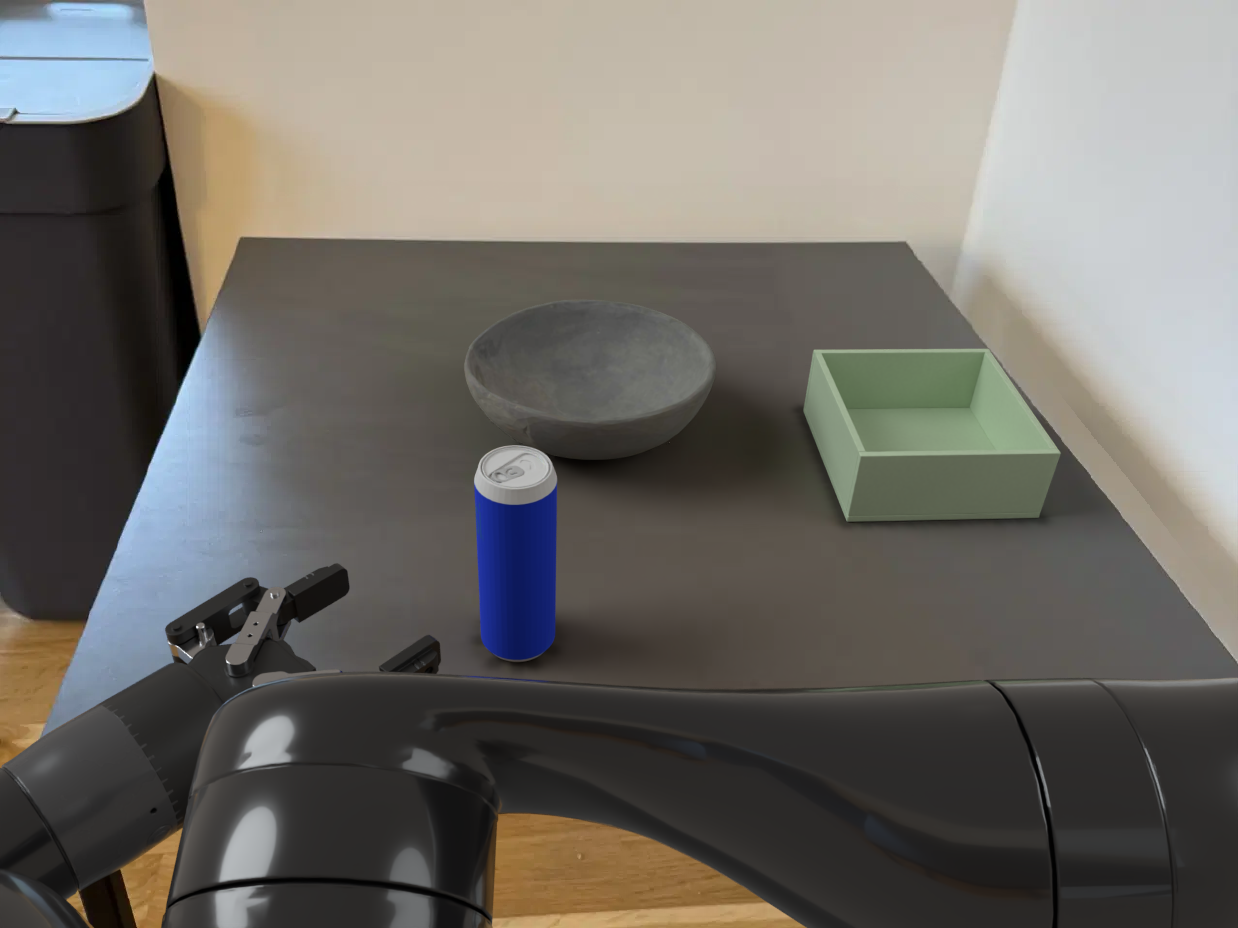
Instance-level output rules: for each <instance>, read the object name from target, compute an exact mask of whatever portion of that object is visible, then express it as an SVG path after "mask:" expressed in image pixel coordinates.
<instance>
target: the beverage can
mask: <svg viewBox="0 0 1238 928" xmlns="http://www.w3.org/2000/svg"><path fill="white" fill-rule="evenodd" d="M473 484H474V508H475V509H474V511H475V528H476V529H475V531H476V535H475V536H476V553H477V555H476V556H477V576H478V578H477V580H478V581H477V582H478V599H479V600H478V603H479V623H480V626H479V627H480V639H481V642H482V644H483V645H484V647H485V648H486V649H487V650H488V652H490V653H491V654H493V655H494V656H495V657H496V658H499V659H501V660H504V661H507V662H512V663H522V662H527V661H531V660H534V659H536V658H538V657H540V656H541V655H542V654H544V653H545V652H546V651H547V650H548V649H550V647H551V646H552V644H553V643H554V641H555V637H556V613H557V612H556V611H557V610H556V607H557V606H556V603H557V599H556V597H557V532H558V531H557V528H558V527H557V526H558V517H557V516H558V476H557V473H556V469H555V467H554V464H553V462H552V461H551V458H549V456H548V454H546V453H544V452H541V451H539V450H537V449H534V448H531V447H527V446H525V445H519V444H518V445H512V444H511V445H505V446H500V447H497V448H494V449H492V450H490V451H488V452H487V453H485V454H484V455H483V456H482V457H481V459H480V460H479V463H478V465H477V468H476V471H475V475H474V478H473Z"/></svg>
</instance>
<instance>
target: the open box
mask: <svg viewBox="0 0 1238 928" xmlns="http://www.w3.org/2000/svg"><path fill="white" fill-rule="evenodd" d="M811 356H812V357H811V363H810V369H809V375H808V380H807V387H806V392H805V393H806V394H805V398H804V404H803V410H802V411H803V414H804V416H805V418H806V422H807V424H808V427H809V430H810V432H811V434H812V437H813V440H814V442H815V444H816V447H817V450H818V452H819V455H820V457H821V460H822V462H823V465H824V467H825V470H826V472H827V475H828V478H829V480H830V482H831V485H832V488H833V490H834V493H835V495H836V498H837V501H838V503H839V505H840V508H841V511H842V513H843V516H844V518H845V520H846V522H847V523H852V522H854V523H856V522H857V523H859V522H898V521H899V522H900V521H904V522H905V521H948V520H949V521H952V520H955V521H957V520H997V519H998V520H1000V519H1002V520H1003V519H1004V520H1005V519H1039V518H1040V515H1041V512H1042V509H1043V506H1044V504H1045V500H1046V497H1047V495H1048V492H1049V489H1050V486H1051V484H1052V480H1053V477H1054V475H1055V471H1056V469H1057V466H1058V462H1059V459H1060V457H1061V454H1062V453H1061V451H1060V450H1059V449H1058V447H1057V446H1056V444H1055V443H1054V441H1053V439H1052V438H1051V437H1050V435H1049V434H1048V432H1047V431H1046V429H1045V428H1044V426H1043V425H1042V424H1041V422H1040V421H1039V419H1038V418H1037V417H1036V415H1035V414H1034V412H1033V411H1032V409H1031V408H1030V406H1029V405H1028V404H1027V402H1026V401H1025V400H1024V398H1023V396H1022V395H1021V393H1020V392H1019V391H1018V389H1017V388H1016V386H1015V385H1014V384H1013V381H1012V380H1011V379H1010V378H1009V376H1008V375H1007V373H1006V372H1005V370H1004V369H1003V367H1002V366H1001V364H1000V363H999V361H998V360H997V359H996V357H995V356H994V355H993V353H992V351H991V350H990V348H902V349H900V348H889V349H888V348H886V349H884V348H881V349H880V348H879V349H873V348H872V349H871V348H870V349H866V348H865V349H860V348H859V349H813V351H812V355H811Z"/></svg>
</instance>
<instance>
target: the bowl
mask: <svg viewBox="0 0 1238 928" xmlns="http://www.w3.org/2000/svg"><path fill="white" fill-rule="evenodd" d="M465 355H466V356H465V360H464V365H463V369H464V376H465V380H466V384H467V387H468V389H469V392H470V394H471V396H472V399H473V400H474V402H475V403H476V404H477V406H478V407H479V409H481V411H482V412H483V413H484V414H485V416H486V417H487V418H488V419H489V420H490V421H491V422H492V423H493V424H494V425H495V426H496V427H498V428H499V429H500V430H501V431H502V432H503V433H505V434H506V435H508V436H509V437H510V438H511V439H513V440H515V441H517V442H518V443H520V444H521V445H523V446H527V447H531V448H534V449H537V450H539V451H541V452H543V453H544V454H546V455H550V456H556V457H560V458H566V459H573V460H574V459H575V460H585V461H586V460H587V461H591V460H592V461H599V460H600V461H601V460H602V461H603V460H616V459H622V458H627V457H628V458H629V457H631V456H635V455H636V456H637V455H639V454H642V453H645V452H647V451H649V450H652V449H655V448H657V447H660V446H661V445H662V444H665V443H666V442H668V441H670V440H672V439H673V438H675V436H677V435H678V434H679V433H681V431H683V430H684V428H685V427H686V426H687V425H689V423H690V422H691V421H692V420H693V419H694V418H695V416H697V414H698V413H699V411H700V409H701V408H702V407H703V405H704V404H705V402H706V400H707V398H708V396H709V394H710V392H711V390H712V387H713V385H714V382H715V379H716V374H717V359H716V356H715V354H714V350H713V348H712V347H711V346H710V344H709V342H708V341H707V340H706V339H705V338H704V337H703V336H702V335H701V334H700V333H699V332H697V331H696V330H695V329H693V328H692V327H691V326H689V324H687V323H685V322H684V321H681V320H680V319H677V318H676V317H674V316H671V315H670V314H667V313H664V312H661V311H659V310H656V309H653V308H650V307H648V306H647V307H646V306H643V305H640V304H634V303H629V302H623V301H614V300H604V299H563V300H555V301H549V302H545V303H540V304H536V305H533V306H529V307H526V308H523V309H520V310H518V311H514V312H512V313H510V314H509V315H507V316H505V317H503V318H501V319H499V320H498V321H495V322H494V323H493V324H491V325H490V326H489V327H487V328H486V329H485V330H484V331H482V332H481V333H480V334H478V335H477V337H476V338H475V339H474V340H473V341H472V342H471V344H470V345H469V346H468V350H467V352H466V354H465Z"/></svg>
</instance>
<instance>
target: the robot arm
mask: <svg viewBox="0 0 1238 928" xmlns="http://www.w3.org/2000/svg"><path fill="white" fill-rule="evenodd" d="M348 593H350V579H349V571H348V570H347V568H345V567H344V566H342V564H340V563H337V562H336V563H333V564H331V565H329V566H328V565H327V566H323V567H319V568H317V569H315V570H313V571H312V572H310V573H308V574H307V575H305V576H303V577H301V578H299V579H297V580H295V581H294V582H292V583H291V584H289V585H287V586H285V587H281V586H273V587H270V588H268V587H264V586H261V585H260V582H259V580H258V579H257V578H256V577H253V576H249V577H248V576H247V577H244V578H242V579H240V580H239V581H237V582H235V583H234V584H232V585H231V586H229V587H227V588H225V589H224V590H221V592H219V593H217V594H215V595H214V596H212V597H210V598H209V599H207V600H205V601H204V602H202V603H200V604H199V605H197V606H195V607H194V608H192V609H191V610H189V611H187V612H186V613H184V614H182V615H181V616H179V617H177V618H175V619H174V620H172V621H170V622H169V623H168V624H167V625H165V628H164V632H165V635H166V642H167V645H168V648H169V652H170V654H171V657H172V661H173V662H170V663H168V664H165V665H164V666H162V667H161V668H159V669H157V670H156V671H154V672H151V673H150V674H148V675H146V676H144V677H142V678H141V679H139V680H138V681H136V682H134V683H133V684H130V685H129V686H127V687H125V688H124V689H122V690H120V691H119V692H116V693H115V694H113V695H111V696H110V697H108V698H106V699H104V700H103V701H100V702H99V703H98V704H96V705H94V706H92V707H91V708H89V709H87V710H86V711H83V712H82V713H80V714H79V715H76V716H75V717H73V718H71V719H70V720H68V721H66V722H64V723H62V724H61V725H58V726H57V727H55V728H54V729H52V730H51V731H49V732H48V733H46V734H44V735H42V736H41V737H40V738H38V739H37V740H35V741H34V742H33V743H31V744H30V745H29V746H27V747H26V748H24V750H22V751H21V752H20V753H18V754H17V755H15V756H14V757H13V758H11V759H10V760H8V761H6V762H5V763H2V765H1V767H0V928H95V927H94V926H93V925H92V923H90V922H89V921H88V920H87V918H86V917H85V916H84V915H83V914H82V913H81V912H80V911H78V909H76V907H74V905H72V904H71V903H70V902H69V901H68V899H70V898H72V897H73V896H74V895H76V894H77V893H78V892H80V891H82V890H84V889H86V888H87V887H89V886H90V885H93V884H94V883H96V882H98V881H100V880H102V879H104V878H106V877H109V876H110V875H113V873H116V872H118V871H119V870H121V869H123V868H125V867H127V866H128V865H130V864H131V863H134V862H135V861H137V860H138V859H139V858H140V857H142V856H144V855H145V854H146V853H148V852H149V851H151V850H152V849H155V848H156V847H158V845H160V844H161V843H163V842H165V840H167V839H169V838H170V837H172V836H173V835H175V834H176V833H177V832H179V831H180V830H181V832H180V833H181V834H180V838H179V843H178V848H177V851H176V852H177V853H176V857H175V862H174V866H173V871H172V876H171V880H170V885H169V890H168V894H167V898H166V904H165V911H164V913H163V915H162V918H161V926H160V928H494V927H493V920H494V919H493V918H494V917H493V916H494V897H495V896H494V894H495V877H496V876H495V875H496V873H495V872H496V857H497V856H496V855H497V838H498V837H497V834H498V822H499V815H507V814H510V815H511V814H512V815H514V814H518V815H520V814H521V815H539V816H552V817H558V818H566V819H573V820H579V821H583V822H587V823H588V822H589V823H593V824H597V825H602V826H607V827H609V828H613V829H618V830H622V831H626V832H629V833H632V834H635V835H638V836H641V837H643V838H647V839H648V840H652V841H654V842H656V843H659V844H660V845H663V846H666V847H668V848H670V849H672V850H674V851H676V852H677V853H681V854H682V855H684V856H687V857H689V858H691V859H693V860H695V861H696V862H699V863H701V864H703V865H705V866H707V867H708V868H710V869H712V870H714V872H717V873H718V874H720V875H722V876H724V877H725V878H727V879H729V880H731V881H732V882H734V883H736V884H737V885H739V886H741V887H743V888H745V889H746V890H747V891H749V892H750V893H752V894H754V895H755V896H756V897H758V898H760V900H763V901H765V902H766V903H767V904H769V905H771V906H772V907H774V908H775V909H776V910H778V911H780V912H781V913H783V914H785V915H786V916H788V917H789V918H791V919H792V920H794V921H795V922H797V923H798V924H800V925H801V926H803V927H805V928H1238V677H1217V678H1216V677H1215V678H1214V677H1213V678H1179V679H1178V678H1176V679H1175V678H1174V679H1173V678H1172V679H1169V678H1168V679H1166V678H1161V679H1159V678H1111V677H1056V678H1055V677H1053V678H1050V677H1049V678H1047V677H1046V678H1007V679H1006V678H1005V679H1004V678H1002V679H1001V678H999V679H996V678H995V679H984V680H982V679H970V680H969V679H968V680H952V681H935V682H933V681H932V682H920V683H919V682H917V683H899V684H897V683H895V684H878V685H876V684H875V685H859V686H858V685H857V686H836V687H833V686H832V687H779V688H778V687H777V688H775V687H774V688H769V687H768V688H696V687H695V688H694V687H693V688H692V687H663V686H661V687H660V686H640V685H638V686H637V685H621V684H620V685H619V684H605V683H604V684H603V683H591V682H574V681H562V680H561V681H557V680H544V679H543V680H542V679H527V678H512V677H511V678H510V677H497V676H480V675H465V674H451V673H449V674H448V673H438V672H439V670H440V668H439V666H440V664H441V662H442V654H441V653H442V652H441V643H440V641H439V640H438V639H436V638H435V637H434V636H432V634H426V635H424V636H423V637H421V638H420V639H418V640H416V641H414V642H413V643H412V644H410V645H409V646H407V647H405V648H404V649H403V650H401V651H400V652H398V653H397V654H396V655H394V656H392V657H391V658H389V659H388V660H386V661H384V662H383V663H381V664H380V665H379V666H378V670H376V671H343V670H342V669H341V670H340V669H338V668H331V669H323V670H317V667H315V666H314V664H312V663H310V661H309V660H307V659H305V658H303V657H301V656H298V655H296V653H295V652H294V649H293V648H292V645H290V644H289V643H288V642H286V641H285V638H286V636H287V634H288V631H289V629H290V627H291V624H292V620H293V619H294V621H296V622H297V623H298V624H300V623H302V622H304V621H305V620H307V619H309V618H310V617H312V616H314V615H315V614H317V613H319V612H321V611H322V610H324V609H325V608H327V607H329V606H330V605H333V604H334V603H335V602H338V601H339V600H341V599H343V598H344V597H346V596H347V595H348ZM239 605H241V607H240V608H238V609H236V610H234V609H235V608H236V607H238V606H239ZM232 610H234V611H233V612H231V611H232ZM230 612H231V613H230ZM237 634H238V636H237V638H236V640H235V642H233V643H227V644H225V642H226V641H228V640H230V639H231V638H232V637H234V636H235V635H237ZM223 643H224V644H223Z"/></svg>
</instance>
